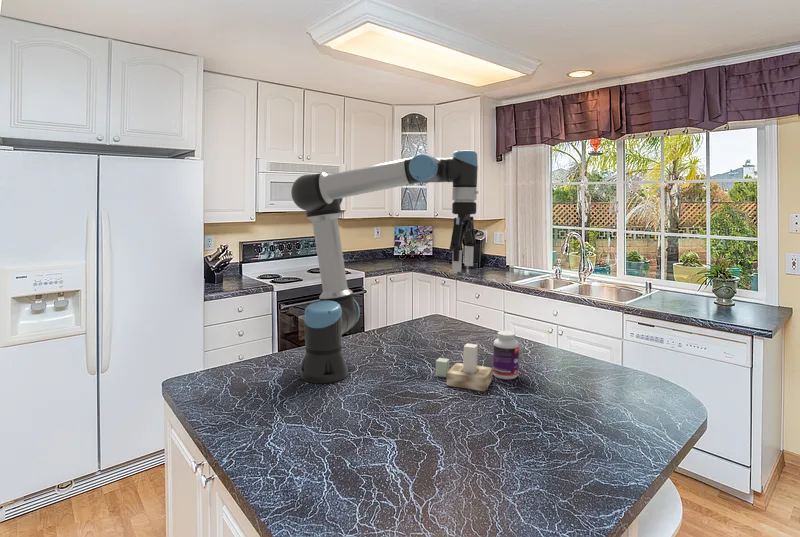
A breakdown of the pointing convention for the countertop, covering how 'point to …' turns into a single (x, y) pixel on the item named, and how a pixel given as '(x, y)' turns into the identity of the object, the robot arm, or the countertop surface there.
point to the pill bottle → (505, 355)
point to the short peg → (442, 367)
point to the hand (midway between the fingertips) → (462, 268)
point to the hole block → (469, 377)
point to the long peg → (470, 358)
